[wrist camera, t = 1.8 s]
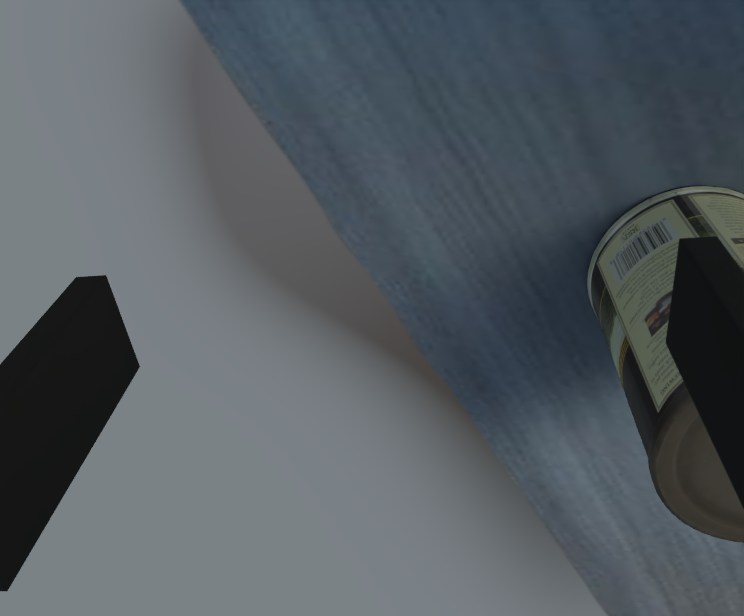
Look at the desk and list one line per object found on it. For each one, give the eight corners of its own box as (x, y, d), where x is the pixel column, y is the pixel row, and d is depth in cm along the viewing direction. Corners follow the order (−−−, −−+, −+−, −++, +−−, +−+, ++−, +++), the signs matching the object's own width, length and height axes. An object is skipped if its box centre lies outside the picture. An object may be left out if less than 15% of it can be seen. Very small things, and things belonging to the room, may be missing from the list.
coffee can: (723, 365, 41) (839, 568, 29) (558, 323, 40) (607, 514, 29) (826, 212, 36) (1020, 387, 24) (636, 160, 35) (739, 314, 23)
